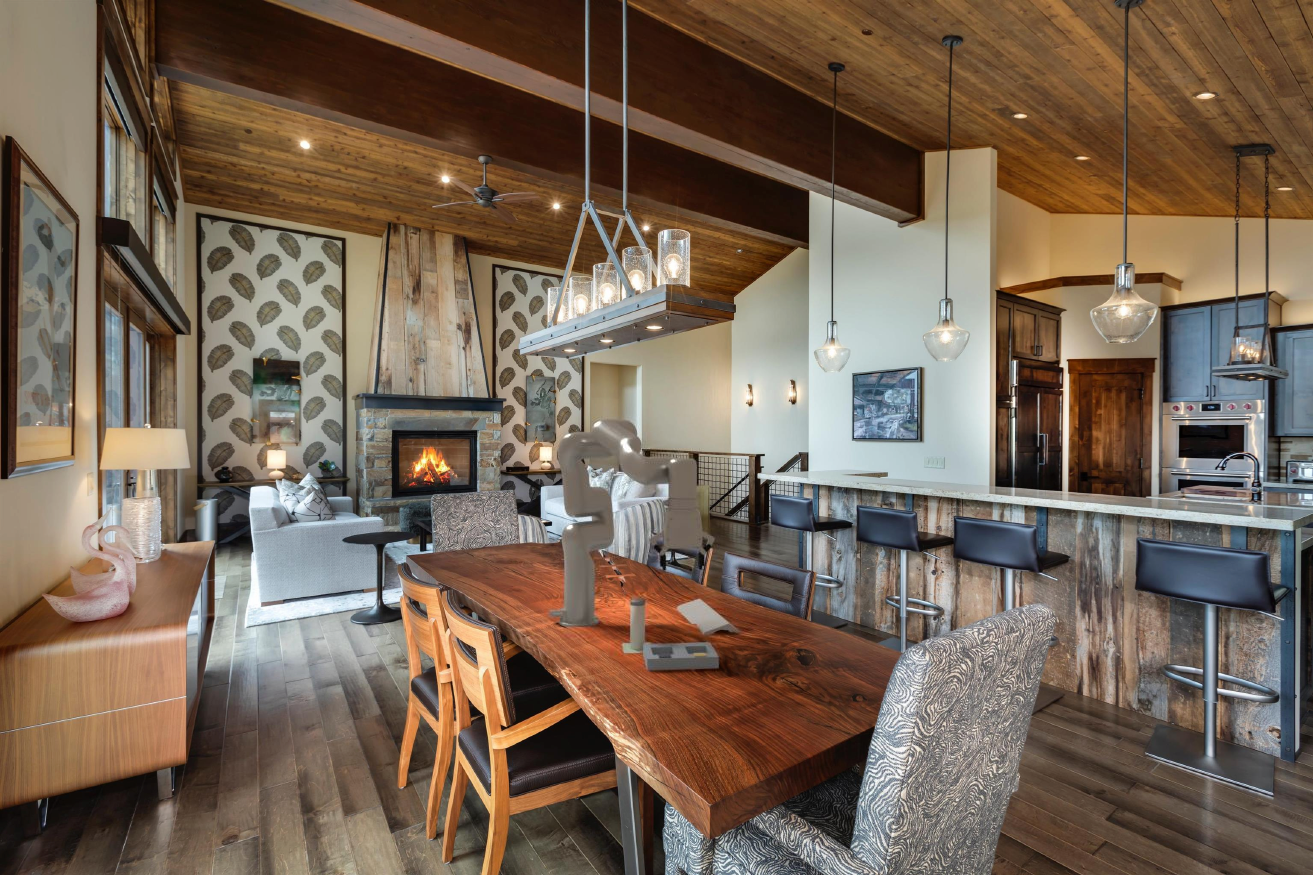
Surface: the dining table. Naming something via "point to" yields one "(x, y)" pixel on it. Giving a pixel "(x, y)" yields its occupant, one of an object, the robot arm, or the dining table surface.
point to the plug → (637, 623)
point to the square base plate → (628, 650)
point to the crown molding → (705, 617)
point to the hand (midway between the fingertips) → (682, 569)
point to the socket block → (680, 656)
